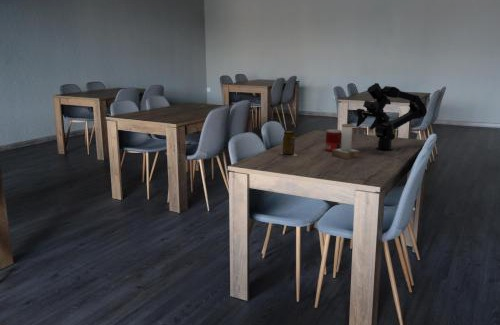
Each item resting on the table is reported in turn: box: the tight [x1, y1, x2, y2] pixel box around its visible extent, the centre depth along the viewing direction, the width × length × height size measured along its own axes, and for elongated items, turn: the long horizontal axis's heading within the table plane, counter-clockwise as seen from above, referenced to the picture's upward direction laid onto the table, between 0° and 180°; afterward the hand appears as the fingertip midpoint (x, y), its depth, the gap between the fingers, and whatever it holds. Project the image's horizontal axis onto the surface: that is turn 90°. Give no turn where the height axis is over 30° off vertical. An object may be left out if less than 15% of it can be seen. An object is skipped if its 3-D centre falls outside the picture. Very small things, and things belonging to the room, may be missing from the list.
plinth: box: [331, 148, 361, 160], centre depth 236 cm, size 10×10×3 cm
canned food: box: [325, 128, 342, 153], centre depth 248 cm, size 8×8×11 cm
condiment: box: [279, 130, 299, 157], centre depth 237 cm, size 7×8×12 cm
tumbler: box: [340, 123, 353, 151], centre depth 234 cm, size 5×5×13 cm
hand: (363, 127), depth 241 cm, fingers open, 9 cm apart
